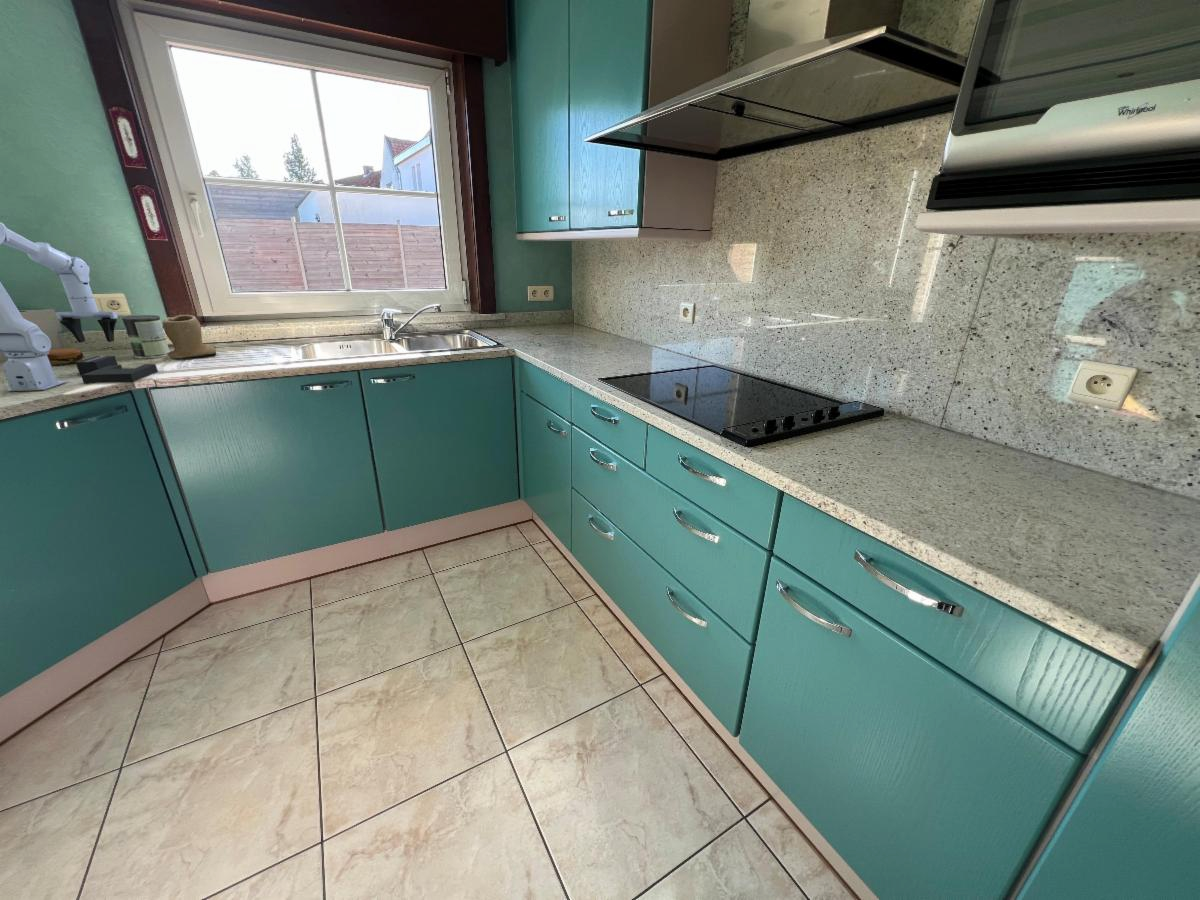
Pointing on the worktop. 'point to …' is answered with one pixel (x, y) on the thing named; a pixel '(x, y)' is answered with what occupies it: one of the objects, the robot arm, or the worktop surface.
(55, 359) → the burger
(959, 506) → the worktop surface
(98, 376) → the notch pad
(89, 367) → the pad
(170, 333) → the tan suede boot
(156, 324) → the coffee can
